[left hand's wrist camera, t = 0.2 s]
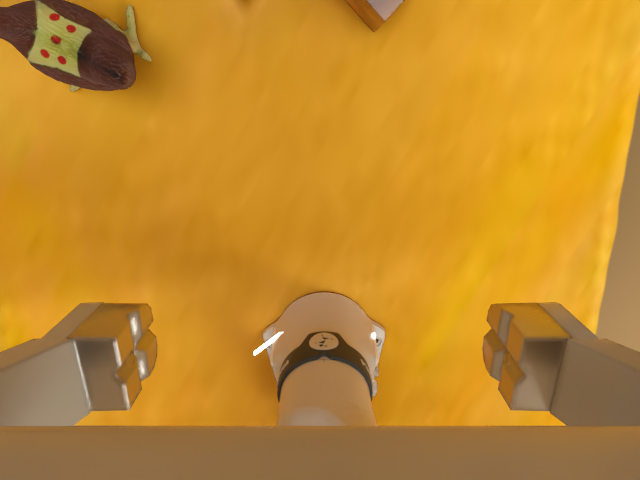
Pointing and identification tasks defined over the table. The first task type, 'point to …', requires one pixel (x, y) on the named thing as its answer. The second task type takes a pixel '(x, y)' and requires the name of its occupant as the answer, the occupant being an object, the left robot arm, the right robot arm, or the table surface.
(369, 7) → the bar
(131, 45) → the figurine
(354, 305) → the left robot arm
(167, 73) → the table surface
